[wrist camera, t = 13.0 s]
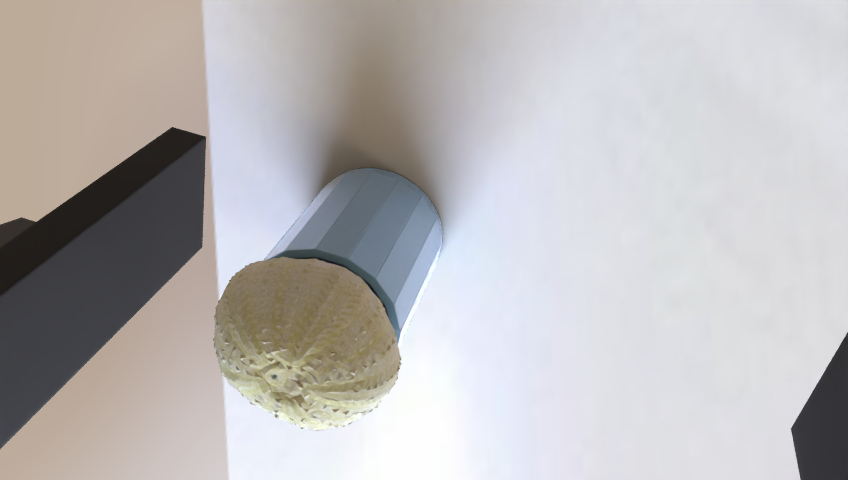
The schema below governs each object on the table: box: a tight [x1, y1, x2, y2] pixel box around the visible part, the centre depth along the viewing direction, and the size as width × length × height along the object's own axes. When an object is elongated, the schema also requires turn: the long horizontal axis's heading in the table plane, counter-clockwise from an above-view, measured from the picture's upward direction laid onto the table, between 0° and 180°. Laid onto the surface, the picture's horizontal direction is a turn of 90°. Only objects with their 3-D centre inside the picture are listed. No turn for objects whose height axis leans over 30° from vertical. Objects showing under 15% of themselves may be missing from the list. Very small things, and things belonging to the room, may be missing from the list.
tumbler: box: [263, 168, 443, 348], centre depth 45 cm, size 8×8×10 cm
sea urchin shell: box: [213, 257, 401, 430], centre depth 39 cm, size 9×8×8 cm
